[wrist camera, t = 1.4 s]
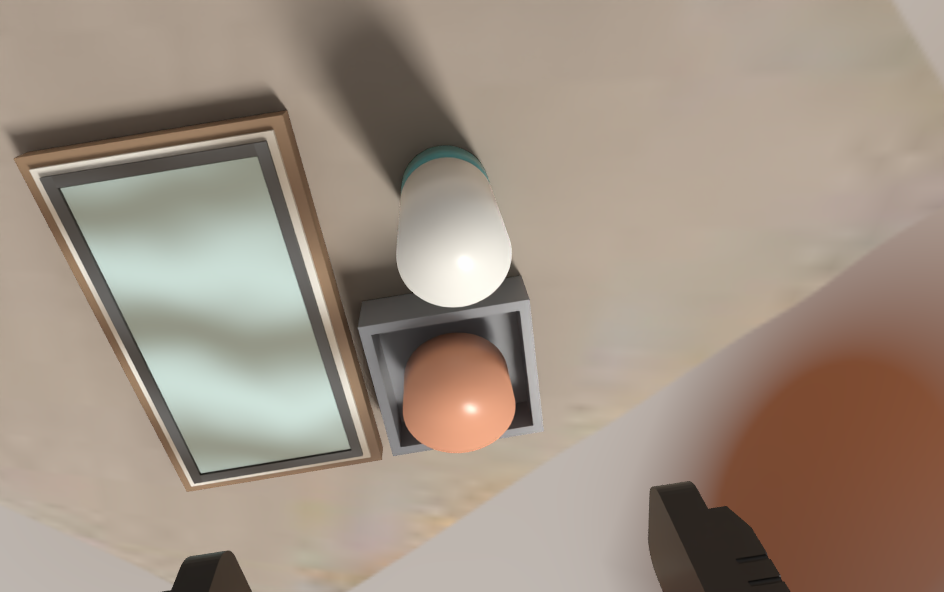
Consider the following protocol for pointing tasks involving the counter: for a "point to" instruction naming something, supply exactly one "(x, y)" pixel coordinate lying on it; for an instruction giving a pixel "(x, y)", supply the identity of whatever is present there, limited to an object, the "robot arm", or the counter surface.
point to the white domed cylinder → (450, 229)
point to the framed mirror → (214, 294)
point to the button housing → (416, 321)
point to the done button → (457, 393)
